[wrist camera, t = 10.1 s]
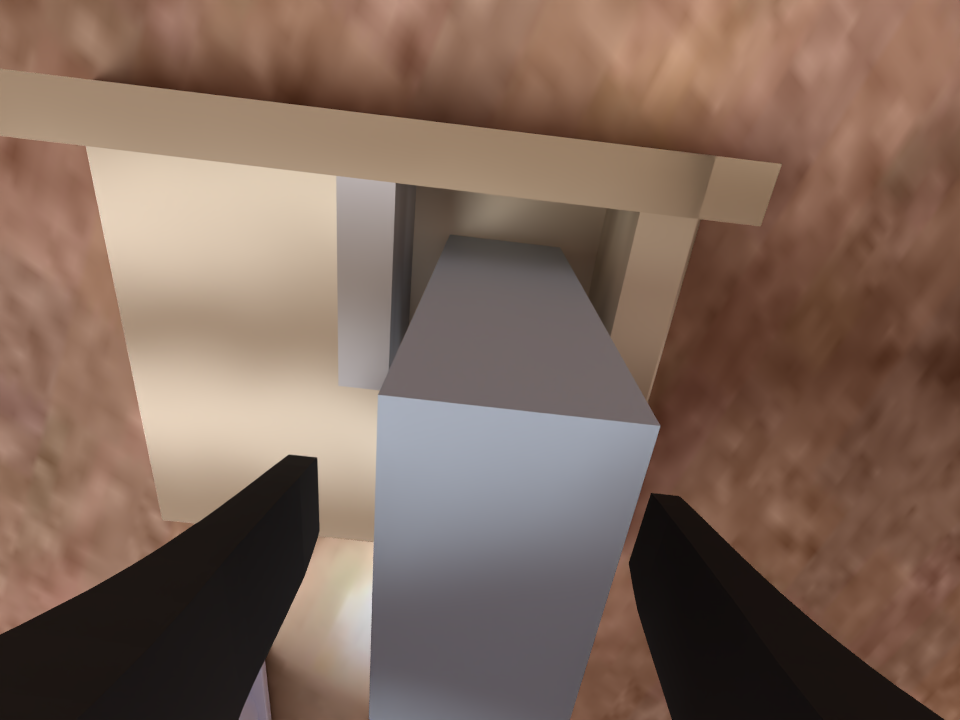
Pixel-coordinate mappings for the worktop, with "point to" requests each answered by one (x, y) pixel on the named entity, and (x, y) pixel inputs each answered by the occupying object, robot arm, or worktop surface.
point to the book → (499, 489)
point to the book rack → (340, 260)
